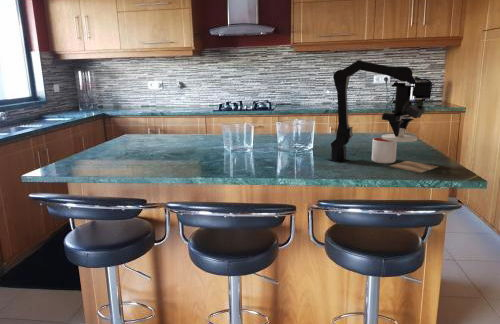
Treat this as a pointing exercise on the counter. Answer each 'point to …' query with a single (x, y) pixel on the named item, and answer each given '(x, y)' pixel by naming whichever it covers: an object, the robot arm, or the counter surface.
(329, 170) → the counter surface
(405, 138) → the lid
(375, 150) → the cup
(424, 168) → the trivet
